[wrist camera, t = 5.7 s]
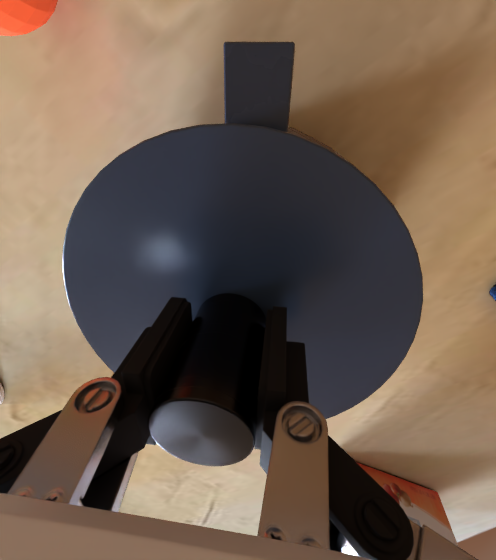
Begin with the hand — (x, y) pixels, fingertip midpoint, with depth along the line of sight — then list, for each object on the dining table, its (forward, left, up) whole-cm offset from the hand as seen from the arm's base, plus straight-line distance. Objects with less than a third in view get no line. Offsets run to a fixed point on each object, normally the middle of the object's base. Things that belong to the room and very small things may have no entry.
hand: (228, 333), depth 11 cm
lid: (0, 0, -1) cm, 1 cm away
